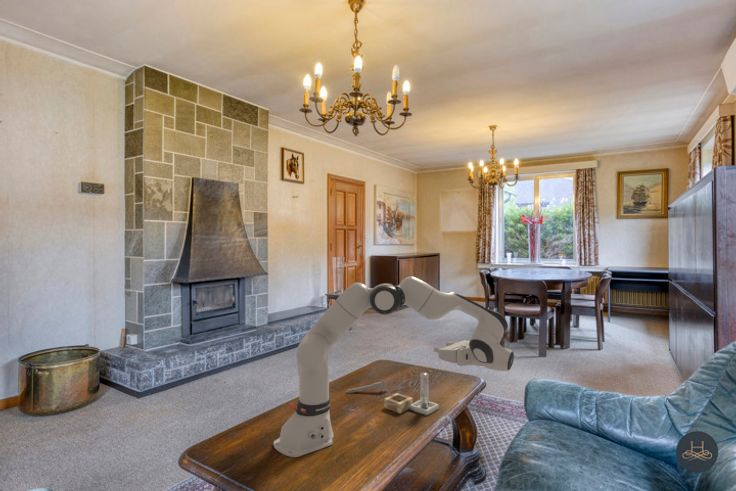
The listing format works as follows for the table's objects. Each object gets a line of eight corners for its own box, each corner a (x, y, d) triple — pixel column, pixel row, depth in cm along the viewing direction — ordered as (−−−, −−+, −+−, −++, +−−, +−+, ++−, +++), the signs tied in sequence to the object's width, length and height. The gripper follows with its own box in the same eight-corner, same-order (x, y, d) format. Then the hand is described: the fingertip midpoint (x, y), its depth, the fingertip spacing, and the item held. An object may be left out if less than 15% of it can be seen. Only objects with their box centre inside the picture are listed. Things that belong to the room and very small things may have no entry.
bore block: (400, 413, 167) (400, 404, 167) (384, 407, 173) (384, 398, 173) (412, 407, 174) (412, 398, 174) (397, 401, 180) (397, 392, 180)
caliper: (386, 391, 193) (386, 378, 193) (386, 392, 192) (386, 379, 192) (345, 392, 192) (345, 379, 192) (345, 393, 191) (345, 380, 191)
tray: (426, 415, 165) (426, 410, 165) (409, 409, 171) (409, 404, 171) (438, 409, 172) (438, 404, 172) (421, 403, 178) (421, 398, 178)
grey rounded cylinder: (425, 410, 169) (425, 375, 169) (418, 408, 171) (418, 373, 171) (430, 407, 172) (430, 373, 171) (423, 405, 174) (423, 371, 174)
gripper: (484, 339, 160) (454, 334, 169) (458, 350, 145) (427, 343, 155) (484, 355, 160) (454, 349, 170) (458, 367, 145) (427, 359, 155)
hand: (441, 346), depth 162 cm, fingers open, 8 cm apart
